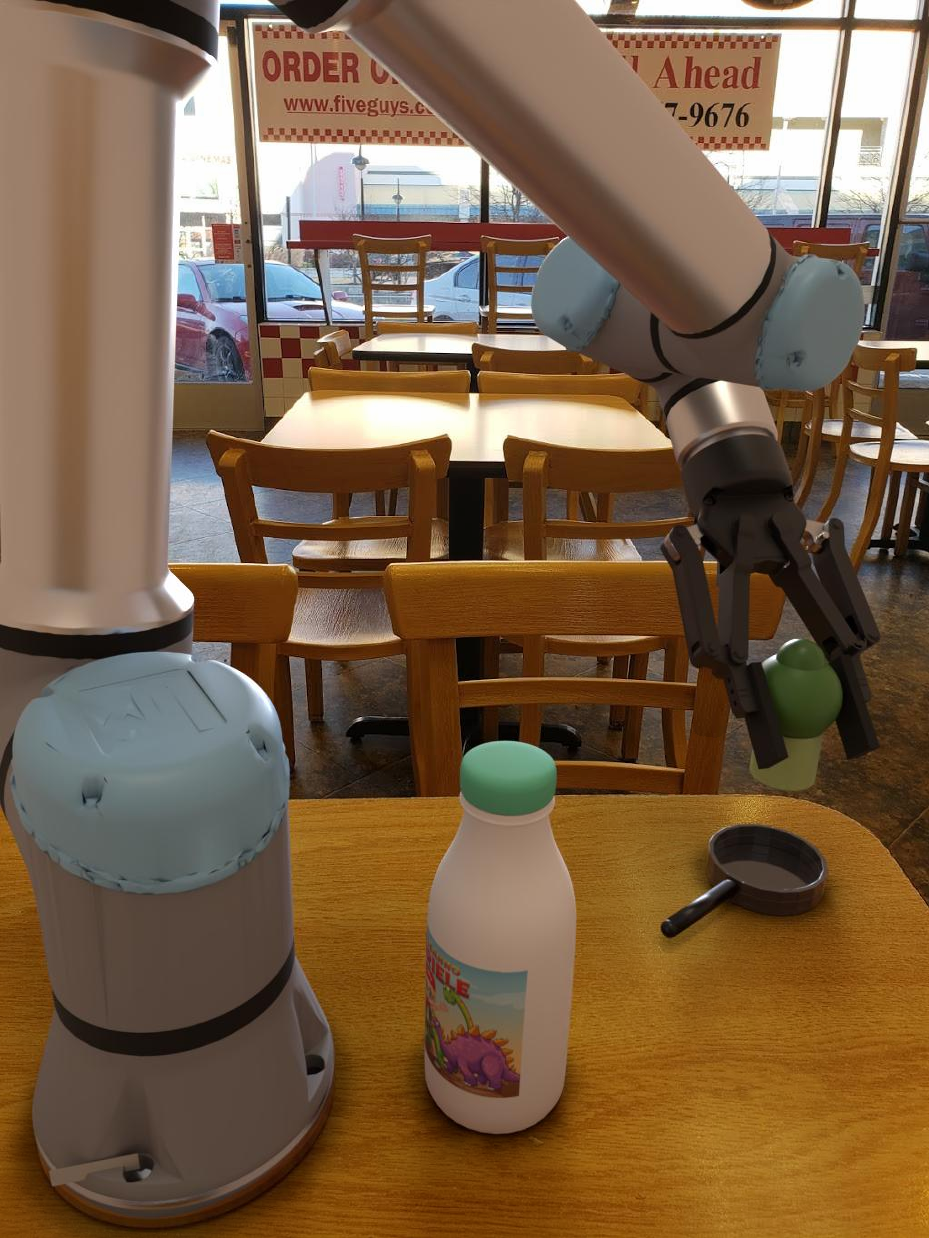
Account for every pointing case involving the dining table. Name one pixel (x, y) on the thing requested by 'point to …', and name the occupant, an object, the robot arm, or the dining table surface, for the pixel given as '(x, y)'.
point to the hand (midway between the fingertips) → (818, 757)
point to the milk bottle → (500, 948)
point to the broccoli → (799, 711)
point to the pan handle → (698, 908)
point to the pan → (767, 868)
